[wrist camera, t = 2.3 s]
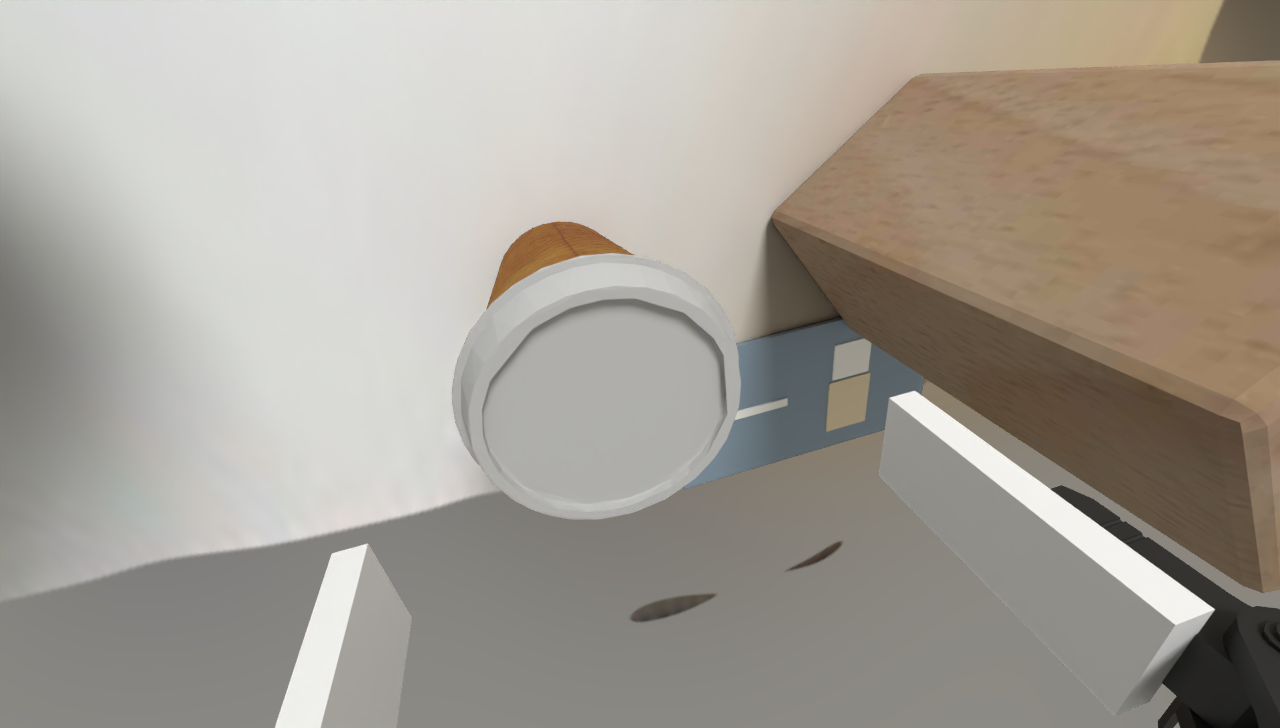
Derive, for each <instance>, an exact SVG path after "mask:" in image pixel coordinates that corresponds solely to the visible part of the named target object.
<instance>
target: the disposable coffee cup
mask: <svg viewBox="0 0 1280 728" xmlns="http://www.w3.org/2000/svg"><path fill="white" fill-rule="evenodd" d="M740 389H741V378H740V372H739V355H738V350H737V345H736V339H735V334H734V332H733V329H732V326H731V324H730V321H729V319H728V317H727V316H726V314H725V312H724V311H723V309H722V307H721V306H720V304H719V303H718V302H717V301H716V300H715V298H714V297H713V296H712V295H711V294H710V293H709V291H708V290H707V289H706V288H705V287H703V286H702V285H701V284H699V283H698V282H697V281H695V280H694V279H692V278H691V277H690V276H688V275H687V274H686V273H684V272H682V271H681V270H679V269H677V268H674V267H672V266H669V265H667V264H665V263H662V262H660V261H657V260H654V259H651V258H648V257H645V256H635V255H633V254H631V253H629V252H628V251H626V250H625V249H623V248H622V247H620V246H618V245H616V244H614V243H613V242H612V241H610V240H609V239H606V238H605V237H603V236H602V235H600V234H599V233H597V232H596V231H594V230H592V229H590V228H588V227H586V226H583V225H581V224H576V223H572V222H553V223H548V224H543V225H540V226H537V227H535V228H532V229H531V230H529V231H527V232H526V233H524V234H523V235H521V236H520V237H519V238H518V239H517V240H516V241H515V242H514V243H513V244H512V245H511V246H510V248H509V249H508V251H507V252H506V253H505V255H504V257H503V260H502V262H501V265H500V268H499V272H498V275H497V278H496V281H495V284H494V288H493V291H492V293H491V297H490V300H489V303H488V306H487V309H486V311H485V312H484V314H483V315H482V316H481V318H480V319H479V320H478V321H477V323H476V324H475V325H474V327H473V328H472V329H471V330H470V332H469V334H468V337H467V339H466V341H465V343H464V345H463V348H462V350H461V353H460V355H459V358H458V360H457V364H456V367H455V372H454V379H453V387H452V404H453V411H454V417H455V423H456V425H457V428H458V430H459V433H460V435H461V438H462V441H463V443H464V445H465V446H466V448H467V449H468V451H469V452H470V454H471V455H472V457H473V458H474V460H475V461H476V462H477V463H478V464H479V465H480V466H481V468H482V469H483V471H484V472H485V473H486V475H487V476H488V478H489V479H490V480H491V482H492V483H493V484H494V485H495V486H496V487H497V488H499V489H500V490H501V491H502V492H504V493H505V494H506V495H507V496H509V497H510V498H511V499H512V500H514V501H515V502H517V503H519V504H521V505H523V506H525V507H527V508H529V509H531V510H533V511H536V512H540V513H543V514H546V515H549V516H555V517H560V518H565V519H573V520H574V519H576V520H577V519H605V518H610V517H615V516H620V515H625V514H630V513H634V512H637V511H639V510H641V509H644V508H646V507H648V506H651V505H653V504H655V503H658V502H659V501H662V500H665V499H667V498H668V497H670V496H671V495H672V494H674V493H675V492H677V491H678V490H680V489H681V488H682V487H684V486H685V485H687V484H688V483H690V482H691V481H692V480H694V479H695V478H696V477H697V476H698V475H699V474H700V473H701V472H702V471H703V470H704V469H705V468H706V467H707V466H708V464H709V463H710V462H711V461H712V460H713V459H714V458H715V456H716V455H717V453H718V452H719V450H720V449H721V447H722V446H723V444H724V443H725V441H726V440H727V438H728V435H729V433H730V430H731V428H732V425H733V423H734V420H735V417H736V414H737V411H738V408H739V402H740Z"/></svg>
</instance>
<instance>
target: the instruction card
mask: <svg viewBox="0 0 1280 728" xmlns="http://www.w3.org/2000/svg"><path fill="white" fill-rule="evenodd" d="M736 345H737V350H738V355H739V372H740V378H741V389H740V402H739V408H738V411H737V414H736V417H735V420H734V423H733V425H732V428H731V430H730V433H729V435H728V438H727V440H726V441H725V443H724V444H723V446H722V447H721V449H720V450H719V452H718V453H717V455H716V456H715V458H714V459H713V460H712V461H711V462H710V463H709V464H708V466H707V467H706V468H705V469H704V470H703V471H702V472H701V473H700V474H699V475H698V476H697V477H696V478H695V479H694V480H692V481H691V482H690V483H688V484H687V485H685V486H684V487H683V488H684V489H686V488H690V487H693V486H696V485H700V484H703V483H707V482H710V481H713V480H717V479H720V478H724V477H727V476H730V475H734V474H737V473H740V472H744V471H747V470H750V469H754V468H757V467H760V466H764V465H767V464H771V463H774V462H777V461H781V460H784V459H787V458H791V457H794V456H798V455H801V454H804V453H808V452H811V451H814V450H818V449H821V448H825V447H828V446H831V445H835V444H838V443H841V442H844V441H848V440H851V439H855V438H858V437H861V436H865V435H868V434H872V433H875V432H878V431H881V430H885V424H886V417H887V409H888V402H889V398H890V397H894V396H897V395H901V394H905V393H908V392H912V391H916V392H917V393H919V394H920V395H921V394H922V388H923V383H924V377H923V376H921V375H920V374H918V373H917V372H915V371H914V370H912V369H910V368H909V367H907V366H906V365H904V364H903V363H901V362H900V361H898V360H897V359H895V358H894V357H892V356H891V355H889V354H887V353H886V352H884V351H883V350H881V349H880V348H878V347H877V346H875V345H874V344H872V343H871V342H869V341H868V340H866V339H865V338H863V337H861V336H860V335H858V334H857V333H855V332H854V331H852V330H851V329H850V328H849V326H848V325H847V324H846V322H845V321H844V320H843V318H842V317H840V318H836V319H832V320H828V321H824V322H820V323H816V324H813V325H809V326H805V327H801V328H797V329H793V330H789V331H785V332H781V333H777V334H773V335H769V336H765V337H761V338H757V339H753V340H750V341H746V342H742V343H738V344H736Z"/></svg>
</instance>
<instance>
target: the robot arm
mask: <svg viewBox="0 0 1280 728" xmlns="http://www.w3.org/2000/svg"><path fill="white" fill-rule="evenodd" d="M878 476H879V477H880V478H881V479H882V480H883V481H884V482H885V483H886V484H887V485H888V486H889V487H890V488H891V489H892V490H893V491H894V492H895V493H896V494H897V496H898V497H900V499H901V500H903V502H905V504H906V505H907V506H908V507H909V508H910V509H911V510H912V511H913V512H914V513H915V514H916V515H917V516H918V517H919V518H920V519H921V520H922V521H923V522H924V523H925V524H926V525H927V526H928V527H929V528H930V529H931V530H932V531H933V532H934V533H935V534H936V535H937V536H938V537H939V538H940V539H941V540H942V541H943V542H944V543H945V544H946V545H947V546H948V547H949V548H950V549H951V550H952V551H953V552H954V553H955V554H956V555H957V556H958V557H959V558H960V559H961V561H963V562H964V563H965V565H967V566H968V567H969V569H970V570H971V571H972V572H973V573H974V574H975V575H976V576H977V577H978V578H979V579H980V580H981V581H982V582H983V583H984V584H985V585H986V586H988V588H989V589H990V590H991V591H992V592H993V593H994V594H995V595H996V596H997V597H998V598H999V599H1000V600H1001V601H1002V602H1003V603H1004V604H1005V605H1006V606H1007V607H1008V608H1009V609H1010V610H1011V611H1012V612H1013V613H1014V614H1015V615H1016V616H1017V617H1018V618H1019V619H1020V620H1021V621H1022V622H1023V623H1024V624H1025V626H1026V627H1028V629H1029V630H1030V631H1031V632H1032V633H1033V634H1034V635H1035V636H1036V637H1037V638H1038V639H1039V640H1040V641H1041V642H1042V643H1043V644H1044V645H1045V646H1046V647H1047V648H1048V649H1049V650H1050V651H1051V652H1052V653H1053V654H1054V655H1055V656H1056V657H1057V658H1058V659H1059V660H1060V661H1061V662H1062V663H1063V664H1064V665H1065V666H1066V667H1067V668H1068V669H1069V670H1070V671H1071V672H1072V673H1073V674H1074V675H1075V676H1076V677H1077V678H1078V679H1079V680H1080V681H1081V682H1082V683H1083V684H1084V685H1085V686H1086V687H1087V689H1088V690H1090V692H1092V693H1093V695H1094V696H1095V697H1097V699H1098V700H1099V701H1100V702H1101V703H1102V704H1103V705H1104V706H1105V707H1106V708H1107V709H1108V710H1109V711H1110V712H1111V713H1112V714H1113V715H1114V716H1116V715H1118V714H1121V713H1123V712H1126V711H1128V710H1131V709H1133V708H1135V707H1138V706H1140V705H1143V704H1145V703H1147V702H1149V701H1150V700H1151V698H1152V697H1153V695H1154V694H1155V693H1156V691H1157V690H1158V688H1159V687H1160V686H1161V684H1162V683H1163V684H1164V685H1165V686H1166V687H1167V688H1169V689H1170V690H1171V691H1172V692H1173V693H1174V694H1175V695H1176V696H1177V697H1176V698H1175V699H1174V701H1173V702H1172V703H1171V705H1170V706H1169V707H1168V709H1167V710H1166V711H1165V713H1164V714H1163V715H1162V717H1161V718H1160V719H1159V720H1158V728H1173V727H1174V726H1175V725H1176V724H1177V722H1179V725H1180V728H1280V609H1277V608H1268V607H1260V606H1256V607H1251V606H1249V605H1247V604H1245V603H1243V602H1242V601H1240V600H1239V599H1237V598H1235V597H1234V596H1232V595H1231V594H1229V593H1228V592H1226V591H1225V590H1223V589H1222V588H1221V587H1219V586H1218V585H1216V584H1215V583H1213V582H1212V581H1210V580H1209V579H1208V578H1206V577H1205V576H1203V575H1202V574H1200V573H1199V572H1197V571H1196V570H1195V569H1193V568H1192V567H1190V566H1189V565H1187V564H1186V563H1184V562H1183V561H1182V560H1180V559H1179V558H1177V557H1176V556H1174V555H1173V554H1172V553H1170V552H1169V551H1167V550H1166V549H1164V548H1163V547H1161V546H1160V545H1159V544H1157V543H1156V542H1154V541H1153V540H1151V539H1150V538H1148V537H1147V538H1145V537H1143V535H1142V533H1141V532H1140V531H1138V530H1137V529H1136V528H1134V527H1133V526H1131V525H1130V524H1128V523H1127V522H1122V521H1121V520H1120V517H1118V516H1117V515H1115V514H1114V513H1112V512H1111V511H1110V510H1108V509H1107V508H1105V507H1104V506H1102V505H1101V504H1099V503H1098V502H1096V501H1095V500H1094V499H1092V498H1090V497H1087V496H1085V495H1083V494H1080V493H1078V492H1076V491H1074V490H1071V489H1069V488H1067V487H1064V486H1062V485H1061V486H1058V487H1055V488H1052V489H1049V488H1047V487H1046V486H1045V485H1044V484H1042V483H1041V482H1039V481H1038V480H1037V479H1035V478H1034V477H1033V476H1031V475H1030V474H1028V473H1027V472H1025V471H1024V470H1023V469H1022V468H1020V467H1019V466H1017V465H1016V464H1015V463H1013V462H1012V461H1011V460H1009V459H1008V458H1006V457H1005V456H1004V455H1002V454H1001V453H999V452H998V451H997V450H995V449H994V448H993V447H991V446H990V445H989V444H987V443H986V442H985V441H983V440H982V439H980V438H979V437H978V436H976V435H975V434H974V433H972V432H971V431H970V430H968V429H967V428H965V427H964V426H963V425H961V424H960V423H959V422H957V421H956V420H954V419H953V418H952V417H950V416H949V415H948V414H946V413H945V412H943V411H942V410H941V409H939V408H938V407H937V406H935V405H934V404H932V403H931V402H930V401H928V400H927V399H926V398H924V397H923V396H922V395H920V394H919V393H917V392H916V391H912V392H908V393H905V394H901V395H897V396H894V397H890V398H889V402H888V409H887V417H886V424H885V431H884V438H883V445H882V452H881V459H880V466H879V473H878ZM411 620H412V618H411V616H410V614H409V612H408V611H407V609H406V607H405V605H404V604H403V602H402V601H401V599H400V597H399V595H398V594H397V592H396V591H395V589H394V587H393V585H392V584H391V582H390V580H389V579H388V577H387V575H386V573H385V572H384V570H383V568H382V567H381V565H380V563H379V562H378V560H377V558H376V556H375V555H374V553H373V551H372V550H371V548H370V546H369V545H368V544H365V545H361V546H357V547H354V548H350V549H347V550H343V551H339V552H336V553H332V555H331V558H330V561H329V564H328V567H327V570H326V573H325V576H324V579H323V582H322V585H321V589H320V592H319V594H318V598H317V601H316V604H315V607H314V610H313V613H312V616H311V619H310V622H309V625H308V628H307V631H306V634H305V638H304V640H303V643H302V646H301V649H300V653H299V656H298V659H297V662H296V665H295V668H294V671H293V674H292V677H291V680H290V683H289V686H288V689H287V692H286V695H285V699H284V701H283V704H282V708H281V710H280V714H279V717H278V720H277V723H276V726H275V728H396V727H397V719H398V712H399V705H400V698H401V691H402V684H403V677H404V669H405V662H406V656H407V649H408V641H409V634H410V627H411Z"/></svg>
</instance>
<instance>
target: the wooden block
mask: <svg viewBox="0 0 1280 728" xmlns="http://www.w3.org/2000/svg"><path fill="white" fill-rule="evenodd" d="M771 217H772V220H773V223H774V225H775V227H776V228H777V229H778V231H779V232H780V234H781V235H782V236H783V238H784V239H785V240H786V242H787V243H788V244H789V246H790V247H791V249H792V250H793V251H794V253H795V254H796V255H797V257H798V258H799V259H800V261H801V262H802V264H803V265H804V266H805V268H806V269H807V270H808V272H809V273H810V274H811V276H812V277H813V279H814V280H815V281H816V283H817V284H818V285H819V287H820V288H821V289H822V291H823V292H824V294H825V295H826V296H827V298H828V299H829V300H830V302H831V303H832V304H833V306H834V307H835V309H836V310H837V311H838V313H839V314H840V315H841V317H842V318H843V320H844V321H845V322H846V324H847V325H848V326H849V328H850V329H851V330H852V331H854V332H855V333H857V334H858V335H860V336H861V337H863V338H865V339H866V340H868V341H869V342H871V343H872V344H874V345H875V346H877V347H878V348H880V349H881V350H883V351H884V352H886V353H887V354H889V355H891V356H892V357H894V358H895V359H897V360H898V361H900V362H901V363H903V364H904V365H906V366H907V367H909V368H910V369H912V370H914V371H915V372H917V373H918V374H920V375H921V376H923V377H924V378H926V379H927V380H929V381H930V382H932V383H933V384H935V385H936V386H938V387H940V388H941V389H943V390H944V391H946V392H947V393H949V394H950V395H952V396H953V397H955V398H957V399H958V400H959V401H961V402H962V403H964V404H966V405H967V406H969V407H970V408H972V409H974V410H975V411H976V412H978V413H979V414H981V415H982V416H984V417H985V418H987V419H989V420H990V421H992V422H993V423H995V424H996V425H998V426H999V427H1001V428H1003V429H1004V430H1005V431H1007V432H1008V433H1010V434H1011V435H1013V436H1015V437H1016V438H1018V439H1019V440H1021V441H1022V442H1024V443H1025V444H1027V445H1028V446H1030V447H1032V448H1033V449H1034V450H1036V451H1038V452H1039V453H1041V454H1042V455H1044V456H1045V457H1047V458H1048V459H1050V460H1051V461H1053V462H1055V463H1056V464H1057V465H1059V466H1060V467H1062V468H1063V469H1065V470H1067V471H1068V472H1070V473H1071V474H1073V475H1074V476H1076V477H1078V478H1079V479H1080V480H1082V481H1084V482H1085V483H1086V484H1088V485H1089V486H1091V487H1093V488H1094V489H1096V490H1097V491H1099V492H1100V493H1102V494H1103V495H1105V496H1106V497H1108V498H1109V499H1111V500H1113V501H1114V502H1116V503H1117V504H1119V505H1120V506H1122V507H1123V508H1125V509H1126V510H1128V511H1129V512H1131V513H1132V514H1134V515H1136V516H1137V517H1138V518H1140V519H1142V520H1143V521H1145V522H1146V523H1148V524H1149V525H1151V526H1152V527H1154V528H1155V529H1157V530H1158V531H1160V532H1161V533H1163V534H1165V535H1166V536H1168V537H1169V538H1171V539H1172V540H1174V541H1175V542H1177V543H1178V544H1180V545H1181V546H1183V547H1185V548H1186V549H1188V550H1189V551H1190V552H1192V553H1194V554H1195V555H1197V556H1198V557H1200V558H1201V559H1203V560H1205V561H1206V562H1207V563H1209V564H1210V565H1212V566H1214V567H1215V568H1217V569H1218V570H1220V571H1221V572H1223V573H1224V574H1226V575H1227V576H1229V577H1230V578H1232V579H1234V580H1235V581H1237V582H1238V583H1239V584H1241V585H1243V586H1245V587H1248V588H1251V589H1253V590H1256V591H1259V592H1261V593H1265V592H1271V591H1276V590H1280V60H1279V61H1252V62H1225V63H1199V64H1172V65H1146V66H1119V67H1093V68H1066V69H1040V70H1013V71H986V72H960V73H933V74H921V75H918V76H916V77H914V78H913V79H911V80H910V81H909V82H908V83H907V84H906V85H905V86H904V87H903V88H902V89H901V90H900V91H899V92H898V93H897V94H896V95H895V96H894V97H893V98H892V99H891V100H890V101H888V102H887V103H886V104H885V105H884V106H883V107H882V108H881V109H880V110H879V111H878V112H877V113H876V114H875V115H874V116H873V117H872V118H871V119H870V120H869V121H868V122H867V123H866V124H865V125H864V126H862V127H861V128H860V129H859V130H858V131H857V132H856V133H855V134H854V135H853V136H852V137H851V138H850V139H849V140H848V141H847V142H846V143H845V144H844V145H843V146H842V147H841V148H840V149H839V150H838V151H836V152H835V153H834V154H833V155H832V156H831V157H830V158H829V159H828V160H827V161H826V162H825V163H824V164H823V165H822V166H821V167H820V168H819V169H818V170H817V171H816V172H815V173H814V174H813V175H812V176H810V177H809V178H808V179H807V180H806V181H805V182H804V183H803V184H802V185H801V186H800V187H799V188H798V189H797V190H796V191H795V192H794V193H793V194H792V195H791V196H790V197H789V198H788V199H787V200H786V201H785V202H783V203H782V204H781V205H780V206H779V207H778V208H777V209H776V210H775V211H774V213H773V215H772V216H771Z"/></svg>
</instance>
